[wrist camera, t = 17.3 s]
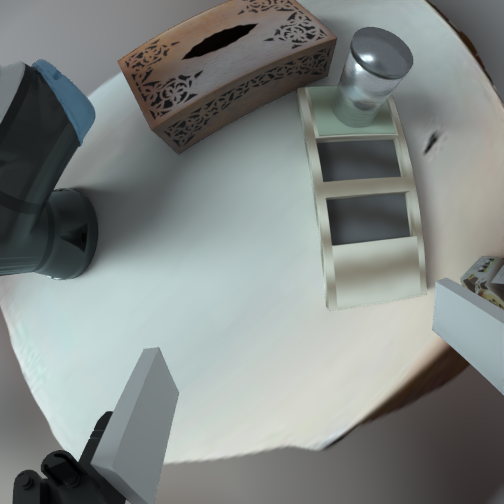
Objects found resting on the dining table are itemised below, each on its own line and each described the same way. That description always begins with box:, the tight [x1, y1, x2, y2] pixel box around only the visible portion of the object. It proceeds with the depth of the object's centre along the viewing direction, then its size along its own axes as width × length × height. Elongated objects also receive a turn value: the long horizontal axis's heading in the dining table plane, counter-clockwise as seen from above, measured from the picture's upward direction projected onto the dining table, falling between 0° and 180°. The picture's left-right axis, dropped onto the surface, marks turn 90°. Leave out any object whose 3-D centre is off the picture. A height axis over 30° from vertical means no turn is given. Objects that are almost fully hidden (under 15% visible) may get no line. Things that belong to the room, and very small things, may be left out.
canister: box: [332, 27, 413, 128], centre depth 27 cm, size 6×6×14 cm
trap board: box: [296, 86, 427, 311], centre depth 35 cm, size 30×14×3 cm, turn 7°
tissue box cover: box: [118, 0, 337, 154], centre depth 34 cm, size 26×14×10 cm, turn 120°
